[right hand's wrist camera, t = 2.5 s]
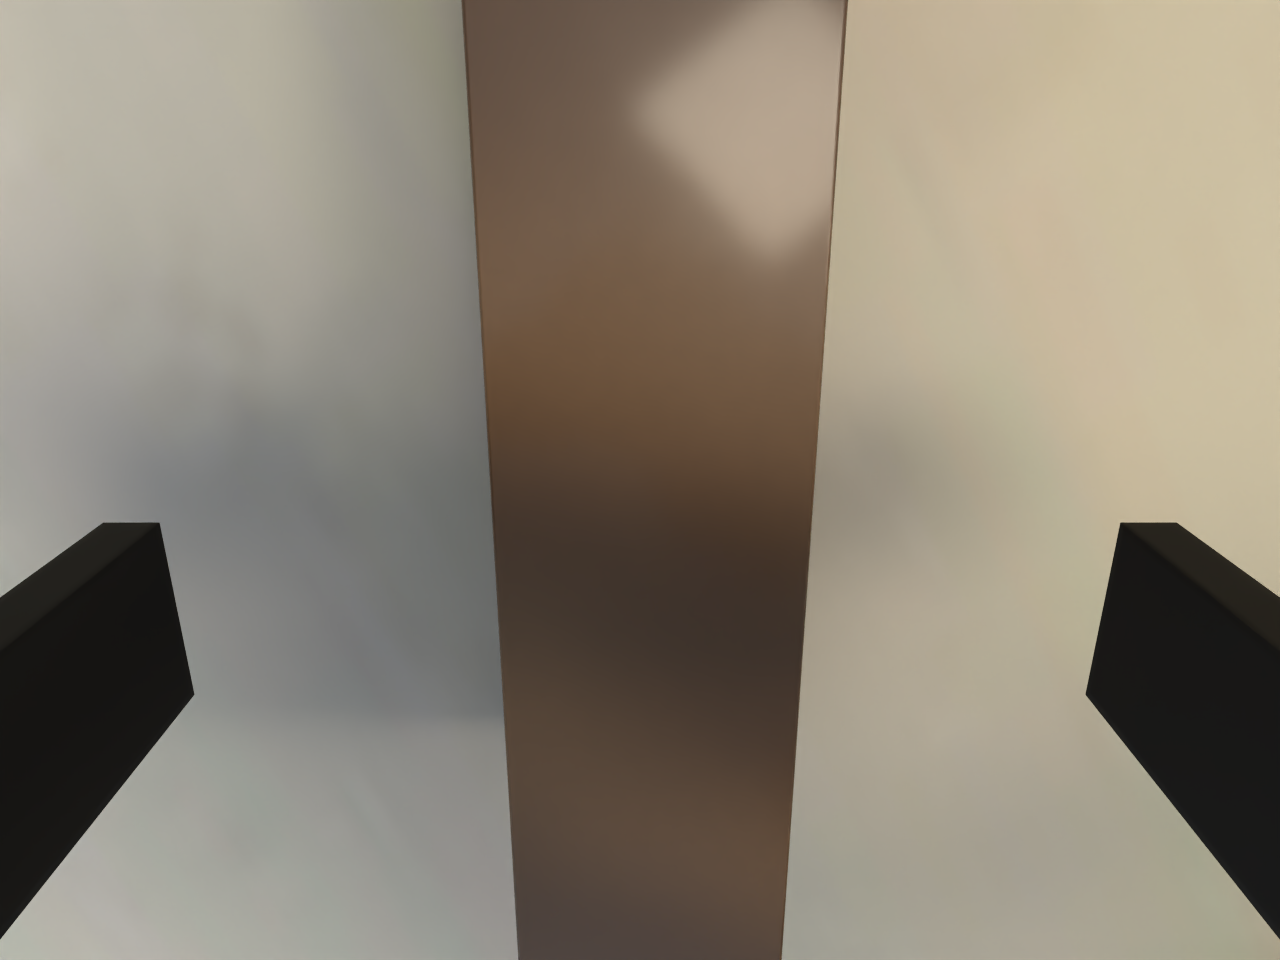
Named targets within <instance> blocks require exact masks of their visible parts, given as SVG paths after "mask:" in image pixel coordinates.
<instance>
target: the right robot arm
mask: <svg viewBox="0 0 1280 960" xmlns="http://www.w3.org/2000/svg"><path fill="white" fill-rule="evenodd" d="M193 696H194V690H193V685H192V680H191V675H190V670H189V666H188V661H187V656H186V651H185V646H184V641H183V636H182V631H181V626H180V621H179V616H178V611H177V607H176V602H175V597H174V592H173V587H172V582H171V577H170V572H169V567H168V562H167V557H166V552H165V548H164V543H163V538H162V533H161V528H160V523H102V524H101V525H100V526H98V527H97V528H95V529H94V530H93V531H91V532H90V533H88V534H87V535H86V536H84V537H83V538H82V539H80V540H79V541H77V542H76V543H75V544H73V545H72V546H71V547H69V548H68V549H66V550H65V551H64V552H62V553H61V554H60V555H58V556H57V557H55V558H54V559H53V560H51V561H50V562H49V563H47V564H46V565H44V566H43V567H42V568H40V569H39V570H38V571H36V572H35V573H33V574H32V575H31V576H29V577H28V578H26V579H25V580H24V581H22V582H21V583H20V584H18V585H17V586H15V587H14V588H13V589H11V590H10V591H9V592H7V593H6V594H4V595H3V596H2V597H0V939H1V938H2V936H3V935H4V934H5V933H6V931H7V930H8V929H9V928H10V926H11V925H12V924H13V923H14V921H15V920H16V919H17V918H18V916H19V915H20V914H21V912H22V911H23V910H24V909H25V907H26V906H27V905H28V904H29V902H30V901H31V900H32V899H33V897H34V896H35V895H36V894H37V892H38V891H39V890H40V889H41V887H42V886H43V885H44V883H45V882H46V881H47V880H48V878H49V877H50V876H51V875H52V873H53V872H54V871H55V870H56V868H57V867H58V866H59V865H60V863H61V862H62V861H63V860H64V858H65V857H66V856H67V855H68V853H69V852H70V851H71V849H72V848H73V847H74V846H75V844H76V843H77V842H78V841H79V839H80V838H81V837H82V836H83V834H84V833H85V832H86V831H87V829H88V828H89V827H90V826H91V824H92V823H93V822H94V820H95V819H96V818H97V817H98V815H99V814H100V813H101V812H102V810H103V809H104V808H105V807H106V805H107V804H108V803H109V802H110V800H111V799H112V798H113V797H114V795H115V794H116V793H117V792H118V790H119V789H120V788H121V786H122V785H123V784H124V783H125V781H126V780H127V779H128V778H129V776H130V775H131V774H132V773H133V771H134V770H135V769H136V768H137V766H138V765H139V764H140V763H141V761H142V760H143V759H144V757H145V756H146V755H147V754H148V752H149V751H150V750H151V749H152V747H153V746H154V745H155V744H156V742H157V741H158V740H159V739H160V737H161V736H162V735H163V734H164V732H165V731H166V730H167V729H168V727H169V726H170V725H171V723H172V722H173V721H174V720H175V718H176V717H177V716H178V715H179V713H180V712H181V711H182V710H183V708H184V707H185V706H186V705H187V703H188V702H189V701H190V700H191V698H192V697H193ZM1086 696H1087V697H1088V698H1089V700H1090V701H1091V702H1092V703H1093V705H1094V706H1095V707H1096V708H1097V710H1098V711H1099V712H1100V713H1101V715H1102V716H1103V717H1104V718H1105V720H1106V721H1107V722H1108V723H1109V725H1110V726H1111V727H1112V729H1113V730H1114V731H1115V732H1116V734H1117V735H1118V736H1119V737H1120V739H1121V740H1122V741H1123V742H1124V744H1125V745H1126V746H1127V747H1128V749H1129V750H1130V751H1131V752H1132V754H1133V755H1134V756H1135V757H1136V759H1137V760H1138V761H1139V763H1140V764H1141V765H1142V766H1143V768H1144V769H1145V770H1146V771H1147V773H1148V774H1149V775H1150V776H1151V778H1152V779H1153V780H1154V781H1155V783H1156V784H1157V785H1158V786H1159V788H1160V789H1161V790H1162V792H1163V793H1164V794H1165V795H1166V797H1167V798H1168V799H1169V800H1170V802H1171V803H1172V804H1173V805H1174V807H1175V808H1176V809H1177V810H1178V812H1179V813H1180V814H1181V815H1182V817H1183V818H1184V819H1185V820H1186V822H1187V823H1188V824H1189V826H1190V827H1191V828H1192V829H1193V831H1194V832H1195V833H1196V834H1197V836H1198V837H1199V838H1200V839H1201V841H1202V842H1203V843H1204V844H1205V846H1206V847H1207V848H1208V849H1209V851H1210V852H1211V853H1212V855H1213V856H1214V857H1215V858H1216V860H1217V861H1218V862H1219V863H1220V865H1221V866H1222V867H1223V868H1224V870H1225V871H1226V872H1227V873H1228V875H1229V876H1230V877H1231V878H1232V880H1233V881H1234V882H1235V883H1236V885H1237V886H1238V887H1239V889H1240V890H1241V891H1242V892H1243V894H1244V895H1245V896H1246V897H1247V899H1248V900H1249V901H1250V902H1251V904H1252V905H1253V906H1254V907H1255V909H1256V910H1257V911H1258V912H1259V914H1260V915H1261V916H1262V918H1263V919H1264V920H1265V921H1266V923H1267V924H1268V925H1269V926H1270V928H1271V929H1272V930H1273V931H1274V933H1275V934H1276V935H1277V936H1278V938H1279V939H1280V597H1278V596H1277V595H1276V594H1274V593H1273V592H1271V591H1270V590H1269V589H1267V588H1266V587H1265V586H1263V585H1262V584H1260V583H1259V582H1258V581H1256V580H1255V579H1254V578H1252V577H1251V576H1249V575H1248V574H1247V573H1245V572H1244V571H1242V570H1241V569H1240V568H1238V567H1237V566H1236V565H1234V564H1233V563H1231V562H1230V561H1229V560H1227V559H1226V558H1225V557H1223V556H1222V555H1220V554H1219V553H1218V552H1216V551H1215V550H1214V549H1212V548H1211V547H1209V546H1208V545H1207V544H1205V543H1204V542H1203V541H1201V540H1200V539H1198V538H1197V537H1196V536H1194V535H1193V534H1192V533H1190V532H1189V531H1187V530H1186V529H1185V528H1183V527H1182V526H1180V525H1179V524H1178V523H1120V528H1119V533H1118V538H1117V543H1116V548H1115V552H1114V557H1113V562H1112V567H1111V572H1110V577H1109V582H1108V587H1107V592H1106V597H1105V602H1104V607H1103V611H1102V616H1101V621H1100V626H1099V631H1098V636H1097V641H1096V646H1095V651H1094V656H1093V661H1092V666H1091V670H1090V675H1089V680H1088V685H1087V690H1086Z"/></svg>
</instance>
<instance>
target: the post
mask: <svg viewBox="0 0 1280 960" xmlns="http://www.w3.org/2000/svg"><path fill="white" fill-rule="evenodd" d="M847 7H848V0H462V16H463V33H464V50H465V67H466V83H467V100H468V117H469V134H470V151H471V168H472V185H473V202H474V218H475V235H476V252H477V269H478V286H479V303H480V320H481V337H482V353H483V370H484V387H485V404H486V421H487V438H488V455H489V471H490V488H491V505H492V522H493V539H494V556H495V573H496V590H497V606H498V623H499V640H500V657H501V674H502V691H503V708H504V724H505V741H506V758H507V775H508V792H509V809H510V826H511V843H512V859H513V876H514V893H515V910H516V927H517V944H518V960H782V945H783V931H784V916H785V902H786V887H787V873H788V859H789V844H790V830H791V815H792V801H793V786H794V772H795V758H796V743H797V729H798V714H799V700H800V685H801V671H802V656H803V642H804V628H805V613H806V599H807V584H808V570H809V555H810V541H811V527H812V512H813V498H814V483H815V469H816V454H817V440H818V426H819V411H820V397H821V382H822V368H823V353H824V339H825V324H826V310H827V296H828V281H829V267H830V252H831V238H832V223H833V209H834V195H835V180H836V166H837V151H838V137H839V122H840V108H841V94H842V79H843V65H844V50H845V36H846V21H847Z"/></svg>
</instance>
